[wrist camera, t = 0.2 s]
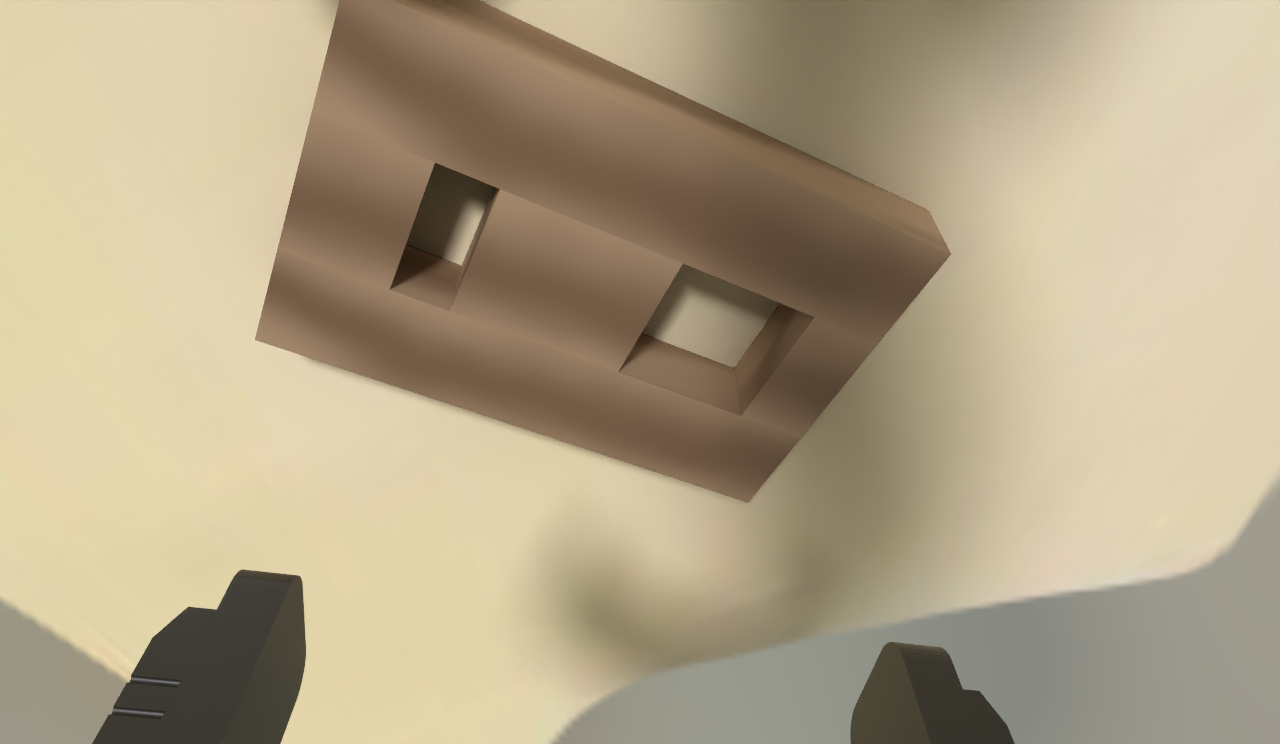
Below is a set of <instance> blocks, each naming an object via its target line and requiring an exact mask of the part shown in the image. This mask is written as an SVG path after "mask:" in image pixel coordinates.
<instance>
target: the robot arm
mask: <svg viewBox="0 0 1280 744" xmlns="http://www.w3.org/2000/svg"><path fill="white" fill-rule="evenodd" d="M305 658H306V642H305V623H304V604H303V586H302V580H301V577H300V576H297V575H288V574H278V573H269V572H260V571H251V570H240V571H239V572H238V573H237V574H236V575H235V576H234V578H233V580H232V581H231V583H230V585H229V587H228V589H227V591H226V593H225V595H224V597H223V599H222V601H221V603H220V605H219V607H218V609H217V610H214V609H204V608H195V607H188V608H186V609H185V610H184V611H183V612H182V613H181V614H179V615H178V616H177V617H176V618H175V619H174V620H173V621H171V622H170V623H169V624H168V625H167V626H166V627H164V628H163V629H162V630H161V631H160V632H159V633H158V634H156V635H155V636H154V637H153V638H152V640H151V642H150V643H149V645H148V647H147V649H146V650H145V652H144V654H143V656H142V657H141V659H140V661H139V663H138V664H137V666H136V668H135V670H134V671H133V673H132V675H131V680H130V682H129V683H127V684H126V685H125V687H124V689H123V691H122V692H121V694H120V696H119V698H118V700H117V701H116V703H115V705H114V708H113V712H112V714H111V715H108V717H107V719H106V721H105V722H104V724H103V726H102V727H101V729H100V731H99V733H98V734H97V736H96V738H95V740H94V742H93V743H92V744H280V743H281V740H282V738H283V735H284V732H285V730H286V727H287V724H288V721H289V719H290V716H291V713H292V711H293V708H294V705H295V703H296V700H297V697H298V694H299V690H300V686H301V682H302V678H303V673H304V667H305ZM851 744H1014V741H1013V739H1012V736H1011V734H1010V731H1009V729H1008V727H1007V725H1006V724H1005V722H1004V721H1003V720H1002V719H1001V717H1000V716H999V715H998V714H997V712H996V711H995V710H994V709H993V708H992V706H991V705H990V704H989V702H988V701H987V700H986V699H985V697H984V696H983V695H982V694H981V693H980V691H974V690H964V689H962V686H961V684H960V681H959V679H958V676H957V673H956V670H955V668H954V665H953V663H952V660H951V658H950V656H949V654H948V653H947V652H946V651H945V650H944V649H943V648H940V647H932V646H923V645H914V644H905V643H896V642H889V643H887V644H886V645H885V646H884V647H883V649H882V651H881V653H880V655H879V657H878V659H877V661H876V664H875V666H874V668H873V670H872V672H871V674H870V676H869V678H868V680H867V682H866V684H865V687H864V689H863V691H862V693H861V695H860V697H859V699H858V701H857V703H856V706H855V708H854V712H853V715H852V721H851Z"/></svg>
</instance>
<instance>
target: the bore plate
mask: <svg viewBox="0 0 1280 744" xmlns="http://www.w3.org/2000/svg"><path fill="white" fill-rule="evenodd" d="M436 163H437V164H440V165H442V166H444V167H447V168H449V169H452V170H454V171H457V172H459V173H462V174H464V175H467V176H469V177H471V178H474V179H476V180H479V181H481V182H484V183H486V184H489V185H491V186H494V189H493V191H492V194H491V196H490V199H489V201H488V204H487V206H486V208H485V211H484V213H483V216H482V218H481V221H480V223H479V225H478V228H477V230H476V233H475V235H474V238H473V240H472V243H471V245H470V247H469V250H468V252H467V255H466V257H465V260H464V262H463V264H462V266H460V265H458V264H455V263H452V262H450V261H447V260H444V259H442V258H439V257H436V256H434V255H431V254H428V253H426V252H423V251H420V250H418V249H415V248H413V247H410V246H407V242H408V239H409V236H410V234H411V231H412V228H413V225H414V222H415V220H416V217H417V214H418V211H419V208H420V206H421V203H422V200H423V197H424V194H425V192H426V189H427V186H428V183H429V180H430V178H431V175H432V172H433V169H434V166H435V164H436ZM950 255H951V253H950V251H949V249H948V247H947V245H946V243H945V241H944V239H943V237H942V236H941V234H940V232H939V230H938V228H937V226H936V224H935V222H934V220H933V218H932V216H931V215H930V213H929V211H928V210H926V209H924V208H921V207H919V206H917V205H915V204H913V203H911V202H909V201H906V200H904V199H902V198H900V197H898V196H896V195H894V194H891V193H889V192H887V191H885V190H883V189H881V188H879V187H876V186H874V185H872V184H870V183H868V182H866V181H864V180H861V179H859V178H857V177H855V176H853V175H851V174H849V173H846V172H844V171H842V170H840V169H838V168H836V167H834V166H831V165H829V164H827V163H825V162H823V161H821V160H819V159H816V158H814V157H812V156H810V155H808V154H806V153H804V152H801V151H799V150H797V149H795V148H793V147H791V146H789V145H787V144H784V143H782V142H780V141H778V140H776V139H774V138H772V137H769V136H767V135H765V134H763V133H761V132H759V131H757V130H754V129H752V128H750V127H748V126H746V125H744V124H742V123H739V122H737V121H735V120H733V119H731V118H729V117H727V116H724V115H722V114H720V113H718V112H716V111H714V110H712V109H709V108H707V107H705V106H703V105H701V104H699V103H697V102H694V101H692V100H690V99H688V98H686V97H684V96H682V95H679V94H677V93H675V92H673V91H671V90H669V89H667V88H664V87H662V86H660V85H658V84H656V83H654V82H652V81H649V80H647V79H645V78H643V77H641V76H639V75H637V74H635V73H632V72H630V71H628V70H626V69H624V68H622V67H620V66H617V65H615V64H613V63H611V62H609V61H607V60H605V59H602V58H600V57H598V56H596V55H594V54H592V53H590V52H587V51H585V50H583V49H581V48H579V47H577V46H575V45H572V44H570V43H568V42H566V41H564V40H562V39H560V38H557V37H555V36H553V35H551V34H549V33H547V32H545V31H542V30H540V29H538V28H536V27H534V26H532V25H530V24H527V23H525V22H523V21H521V20H519V19H517V18H515V17H512V16H510V15H508V14H506V13H504V12H502V11H500V10H498V9H495V8H493V7H491V6H489V5H487V4H485V3H483V2H480V1H478V0H340V2H339V6H338V10H337V14H336V18H335V22H334V26H333V30H332V34H331V38H330V42H329V46H328V50H327V54H326V58H325V62H324V66H323V70H322V74H321V78H320V82H319V86H318V90H317V94H316V98H315V102H314V106H313V110H312V114H311V118H310V122H309V126H308V130H307V134H306V138H305V142H304V146H303V150H302V154H301V158H300V162H299V166H298V170H297V174H296V178H295V182H294V186H293V190H292V194H291V198H290V202H289V206H288V210H287V214H286V218H285V222H284V226H283V230H282V234H281V238H280V242H279V246H278V250H277V254H276V258H275V262H274V266H273V270H272V274H271V278H270V282H269V286H268V290H267V294H266V298H265V302H264V306H263V310H262V314H261V318H260V322H259V326H258V330H257V334H256V338H255V340H257V341H260V342H263V343H266V344H269V345H272V346H275V347H278V348H281V349H284V350H287V351H291V352H294V353H297V354H300V355H303V356H306V357H309V358H312V359H315V360H318V361H321V362H324V363H327V364H330V365H333V366H336V367H339V368H342V369H345V370H348V371H351V372H354V373H357V374H360V375H363V376H366V377H369V378H372V379H375V380H378V381H381V382H385V383H388V384H391V385H394V386H397V387H400V388H403V389H406V390H409V391H412V392H415V393H418V394H421V395H424V396H427V397H430V398H433V399H436V400H439V401H442V402H445V403H448V404H451V405H454V406H457V407H460V408H463V409H466V410H469V411H472V412H476V413H479V414H482V415H485V416H488V417H491V418H494V419H497V420H500V421H503V422H506V423H509V424H512V425H515V426H518V427H521V428H524V429H527V430H530V431H533V432H536V433H539V434H542V435H545V436H548V437H551V438H554V439H557V440H560V441H563V442H566V443H570V444H573V445H576V446H579V447H582V448H585V449H588V450H591V451H594V452H597V453H600V454H603V455H606V456H609V457H612V458H615V459H618V460H621V461H624V462H627V463H630V464H633V465H636V466H639V467H642V468H645V469H648V470H651V471H654V472H657V473H661V474H664V475H667V476H670V477H673V478H676V479H679V480H682V481H685V482H688V483H691V484H694V485H697V486H700V487H703V488H706V489H709V490H712V491H715V492H718V493H721V494H724V495H727V496H730V497H733V498H736V499H739V500H742V501H745V502H749V501H750V499H751V498H752V497H753V496H754V495H755V493H756V492H757V491H758V490H759V488H760V487H761V486H762V485H763V483H764V482H765V481H766V480H767V479H768V477H769V476H770V475H771V474H772V472H773V471H774V470H775V469H776V468H777V466H778V465H779V464H780V463H781V461H782V460H783V459H784V458H785V457H786V455H787V454H788V453H789V452H790V450H791V449H792V448H793V447H794V446H795V444H796V443H797V442H798V441H799V439H800V438H801V437H802V436H803V435H804V433H805V432H806V431H807V430H808V428H809V427H810V426H811V425H812V424H813V422H814V421H815V420H816V419H817V417H818V416H819V415H820V414H821V413H822V411H823V410H824V409H825V408H826V406H827V405H828V404H829V403H830V402H831V400H832V399H833V398H834V397H835V395H836V394H837V393H838V392H839V391H840V389H841V388H842V387H843V386H844V384H845V383H846V382H847V381H848V380H849V378H850V377H851V376H852V375H853V373H854V372H855V371H856V370H857V369H858V367H859V366H860V365H861V364H862V362H863V361H864V360H865V359H866V357H867V356H868V355H869V354H870V353H871V351H872V350H873V349H874V348H875V346H876V345H877V344H878V343H879V342H880V340H881V339H882V338H883V337H884V335H885V334H886V333H887V332H888V331H889V329H890V328H891V327H892V326H893V324H894V323H895V322H896V321H897V320H898V318H899V317H900V316H901V315H902V313H903V312H904V311H905V310H906V309H907V307H908V306H909V305H910V304H911V302H912V301H913V300H914V299H915V298H916V296H917V295H918V294H919V293H920V291H921V290H922V289H923V288H924V287H925V285H926V284H927V283H928V282H929V280H930V279H931V278H932V277H933V276H934V274H935V273H936V272H937V271H938V269H939V268H940V267H941V266H942V265H943V263H944V262H945V261H946V260H947V258H948V257H949V256H950ZM682 264H685V265H688V266H690V267H692V268H695V269H697V270H700V271H702V272H705V273H707V274H710V275H712V276H715V277H717V278H719V279H722V280H724V281H727V282H729V283H732V284H734V285H737V286H739V287H742V288H744V289H746V290H749V291H751V292H754V293H756V294H759V295H761V296H764V297H766V298H769V299H771V300H773V301H776V302H778V303H780V305H779V306H778V307H777V309H776V310H775V312H774V313H773V315H772V316H771V317H770V319H769V320H768V322H767V323H766V324H765V326H764V327H763V329H762V330H761V332H760V333H759V334H758V336H757V337H756V339H755V340H754V342H753V343H752V344H751V346H750V347H749V349H748V350H747V352H746V353H745V354H744V356H743V357H742V359H741V360H740V361H739V363H738V364H737V366H736V367H735V369H734V368H731V367H728V366H726V365H723V364H720V363H718V362H715V361H712V360H710V359H707V358H705V357H702V356H699V355H697V354H694V353H691V352H689V351H686V350H683V349H681V348H678V347H675V346H673V345H670V344H667V343H665V342H662V341H659V340H657V339H654V338H651V337H649V336H646V335H643V334H641V333H642V331H643V330H644V328H645V326H646V325H647V323H648V321H649V320H650V318H651V316H652V315H653V313H654V311H655V310H656V308H657V306H658V305H659V303H660V301H661V300H662V298H663V296H664V295H665V293H666V291H667V289H668V288H669V286H670V284H671V283H672V281H673V279H674V278H675V276H676V274H677V273H678V271H679V269H680V268H681V266H682Z"/></svg>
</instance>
